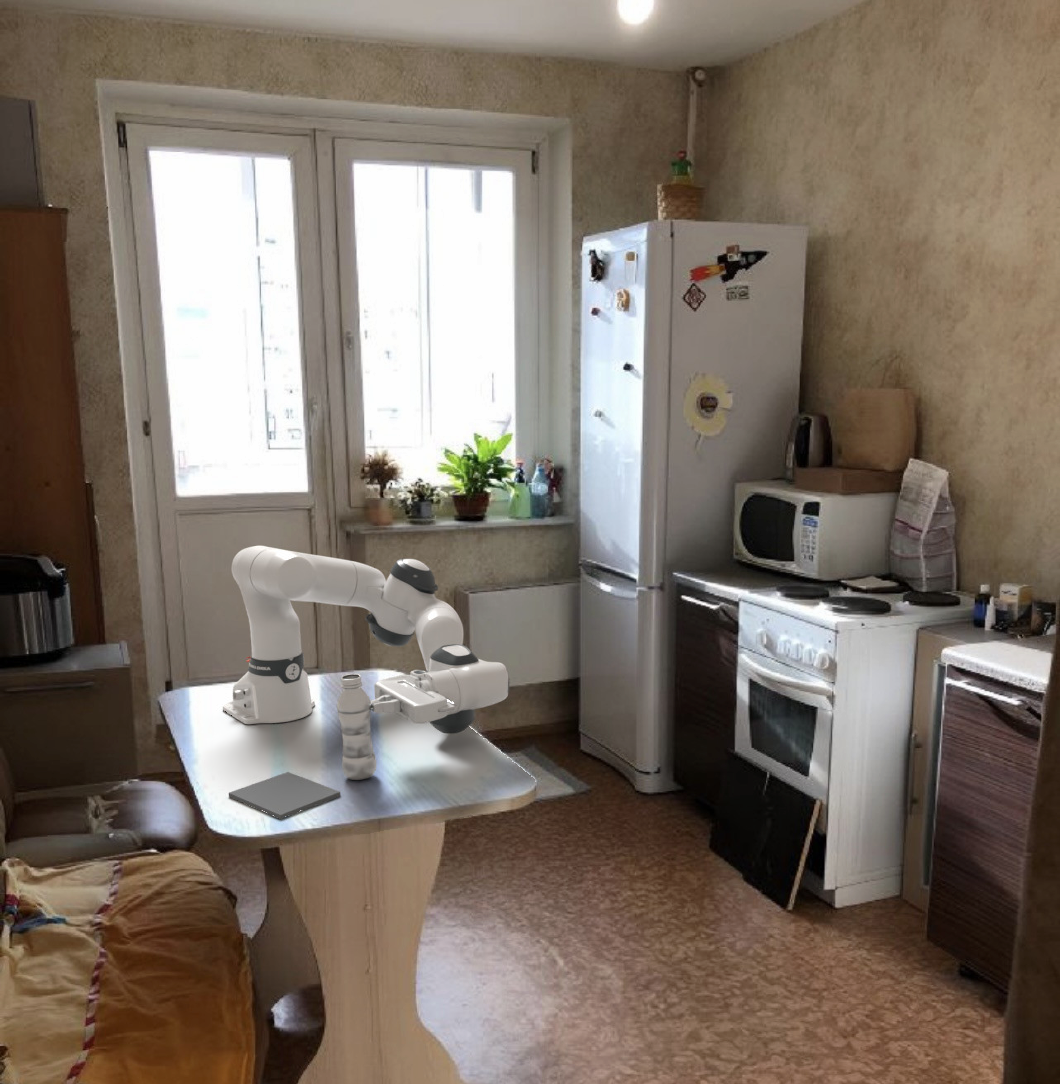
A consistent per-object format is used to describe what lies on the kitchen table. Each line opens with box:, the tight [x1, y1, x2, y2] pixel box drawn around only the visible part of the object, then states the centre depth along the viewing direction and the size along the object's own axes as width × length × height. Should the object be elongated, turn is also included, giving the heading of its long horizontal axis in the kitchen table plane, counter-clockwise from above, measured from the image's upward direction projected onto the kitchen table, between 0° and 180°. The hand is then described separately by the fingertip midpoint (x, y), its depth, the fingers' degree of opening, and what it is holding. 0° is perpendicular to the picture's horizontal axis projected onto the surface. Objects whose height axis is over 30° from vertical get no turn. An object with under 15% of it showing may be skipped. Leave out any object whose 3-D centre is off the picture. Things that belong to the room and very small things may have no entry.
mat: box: [228, 771, 342, 820], centre depth 179 cm, size 16×13×1 cm
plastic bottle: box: [336, 673, 377, 781], centre depth 186 cm, size 6×7×20 cm
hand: (371, 707), depth 186 cm, fingers closed
